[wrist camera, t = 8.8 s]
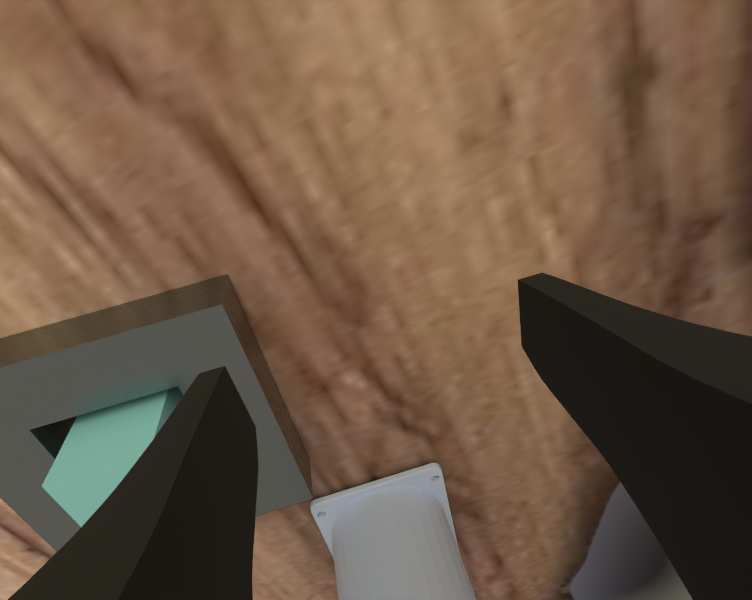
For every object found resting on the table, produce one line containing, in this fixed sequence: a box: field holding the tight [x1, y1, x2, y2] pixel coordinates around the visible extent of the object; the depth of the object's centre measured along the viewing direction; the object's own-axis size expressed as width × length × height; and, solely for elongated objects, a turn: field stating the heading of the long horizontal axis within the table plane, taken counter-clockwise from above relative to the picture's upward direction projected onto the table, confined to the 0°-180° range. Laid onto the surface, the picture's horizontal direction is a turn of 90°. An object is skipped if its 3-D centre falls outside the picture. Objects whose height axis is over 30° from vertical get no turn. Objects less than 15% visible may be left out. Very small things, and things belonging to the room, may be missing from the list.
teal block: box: [42, 386, 183, 527], centre depth 20 cm, size 4×4×5 cm
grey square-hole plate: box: [0, 275, 313, 552], centre depth 21 cm, size 12×12×2 cm
